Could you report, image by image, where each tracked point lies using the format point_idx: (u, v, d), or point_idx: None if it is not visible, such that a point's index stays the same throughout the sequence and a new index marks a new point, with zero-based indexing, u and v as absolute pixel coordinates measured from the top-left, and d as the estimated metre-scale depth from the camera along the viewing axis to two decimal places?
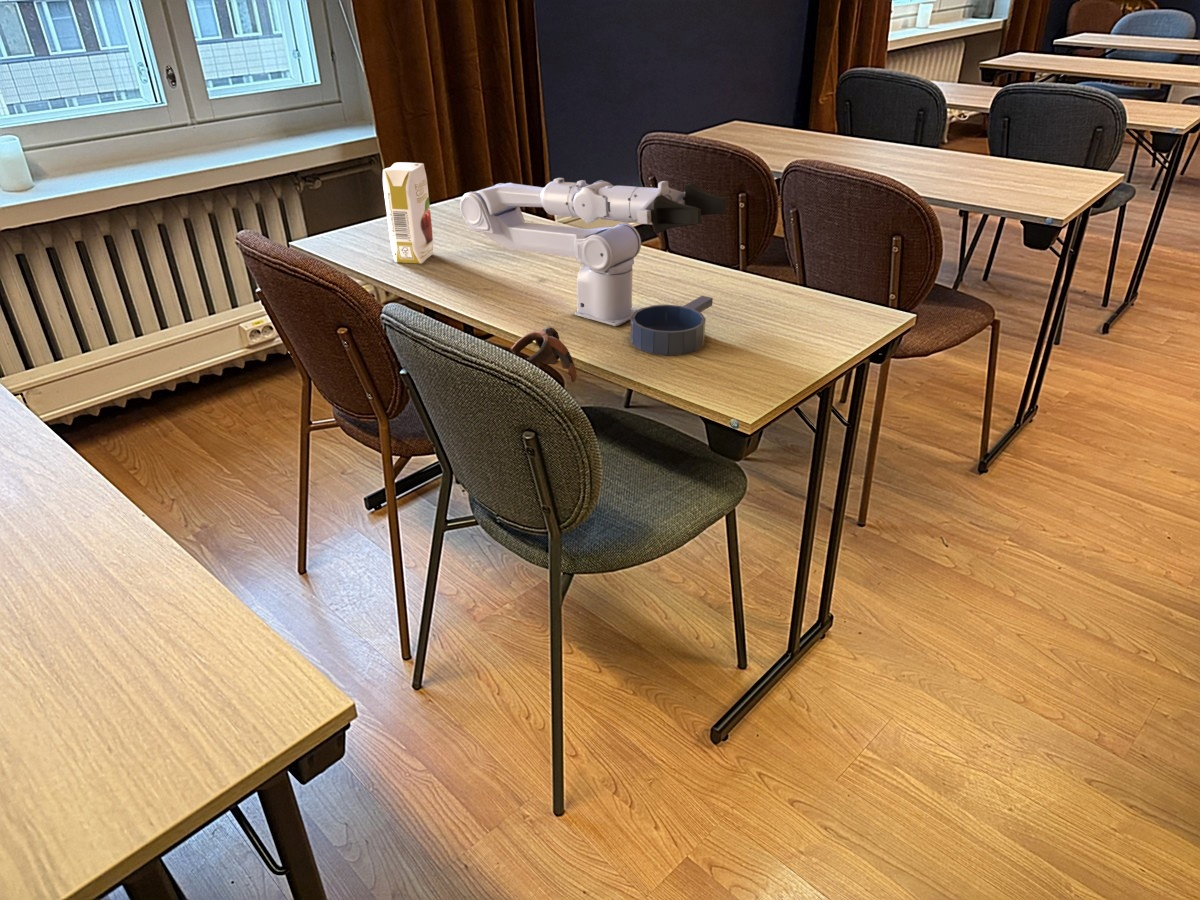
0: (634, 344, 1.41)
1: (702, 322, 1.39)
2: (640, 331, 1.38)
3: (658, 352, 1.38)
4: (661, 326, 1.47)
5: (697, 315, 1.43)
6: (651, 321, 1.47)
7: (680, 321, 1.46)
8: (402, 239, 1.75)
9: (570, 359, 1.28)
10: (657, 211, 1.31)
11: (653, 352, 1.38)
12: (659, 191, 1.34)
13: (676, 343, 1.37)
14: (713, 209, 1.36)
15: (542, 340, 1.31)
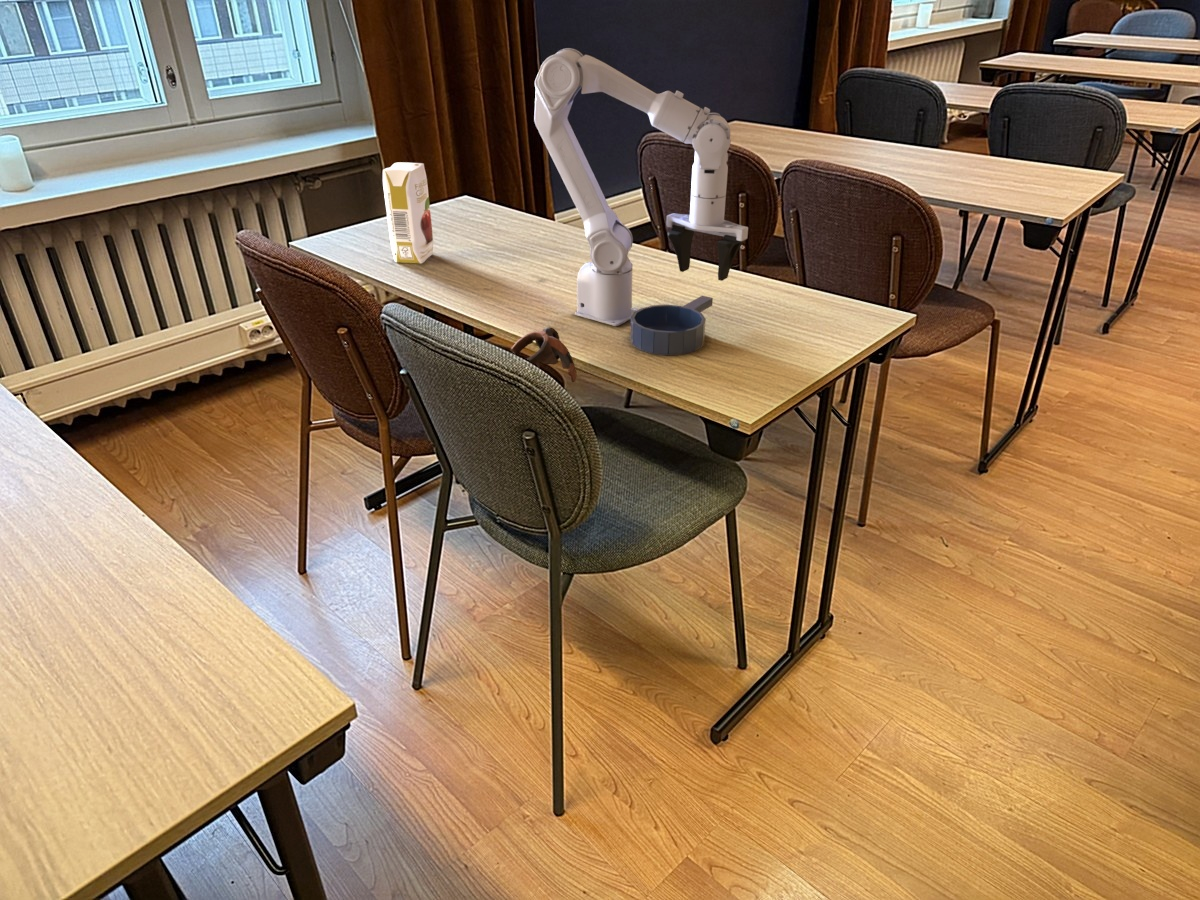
0: (634, 344, 1.41)
1: (702, 322, 1.39)
2: (640, 331, 1.38)
3: (658, 352, 1.38)
4: (661, 326, 1.47)
5: (697, 315, 1.43)
6: (651, 321, 1.47)
7: (680, 321, 1.46)
8: (402, 239, 1.75)
9: (570, 359, 1.28)
10: (737, 242, 1.41)
11: (653, 352, 1.38)
12: None
13: (676, 343, 1.37)
14: (684, 261, 1.47)
15: (542, 340, 1.31)
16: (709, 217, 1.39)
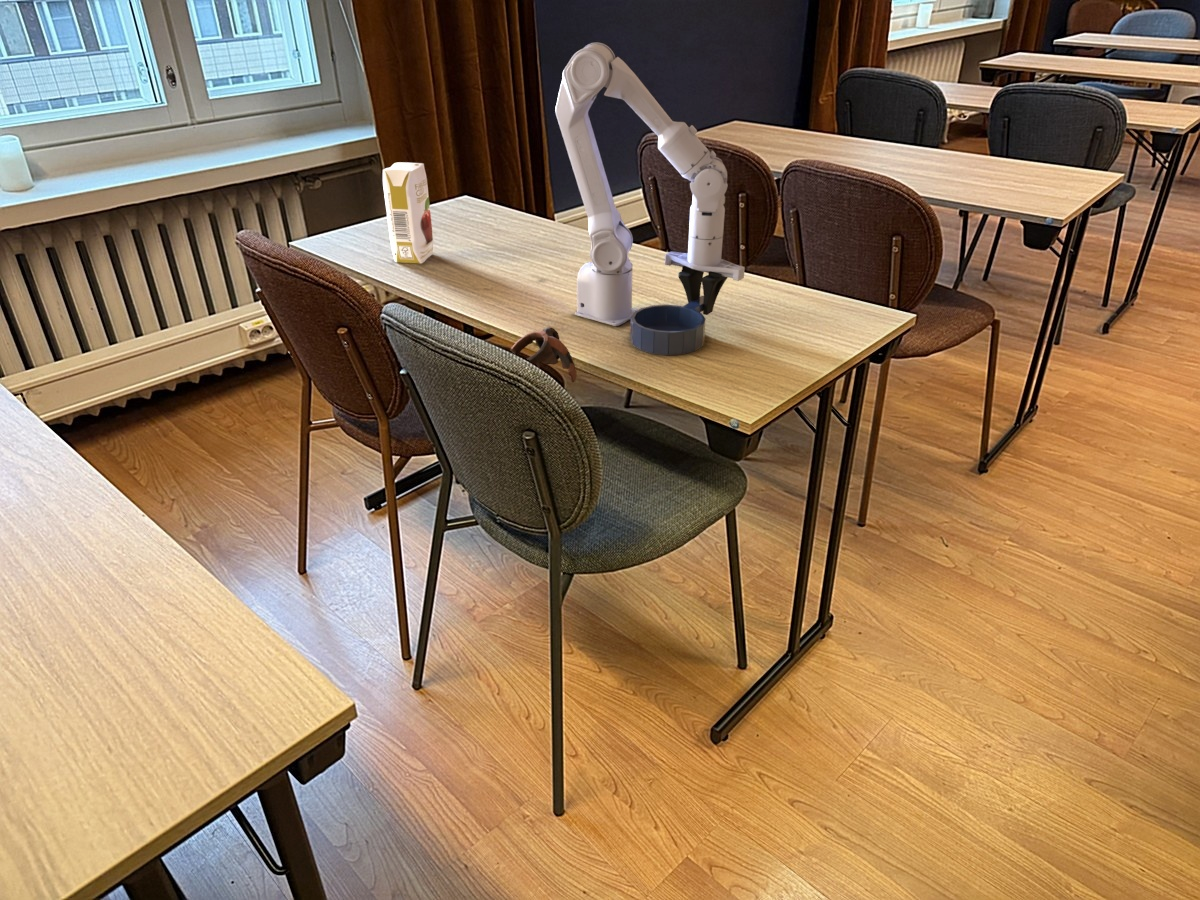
0: (634, 344, 1.41)
1: (702, 322, 1.39)
2: (640, 331, 1.38)
3: (658, 352, 1.38)
4: (661, 326, 1.47)
5: (697, 315, 1.43)
6: (651, 321, 1.47)
7: (680, 321, 1.46)
8: (402, 239, 1.75)
9: (570, 359, 1.28)
10: (721, 278, 1.45)
11: (653, 352, 1.38)
12: None
13: (676, 343, 1.37)
14: None
15: (542, 340, 1.31)
16: (706, 257, 1.42)
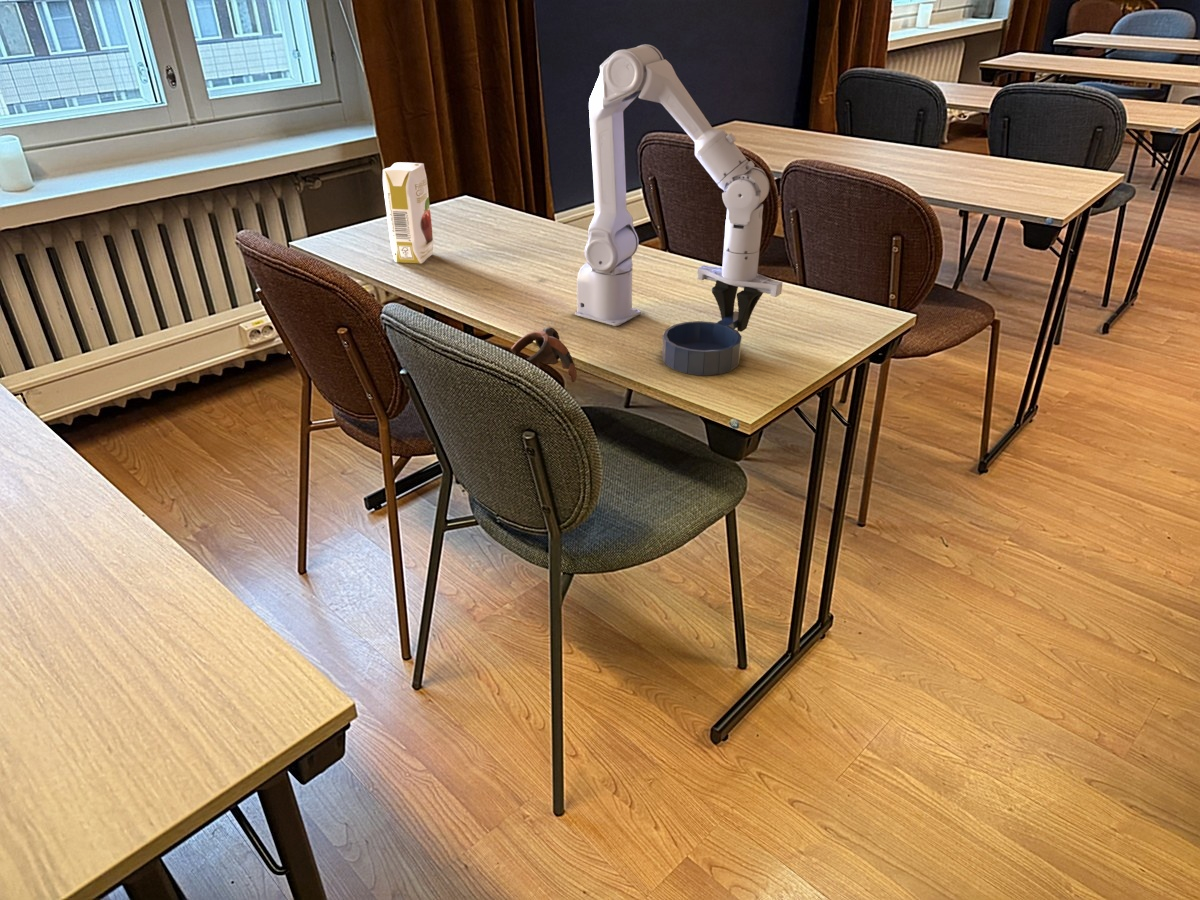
0: (667, 363, 1.34)
1: (738, 340, 1.33)
2: (673, 350, 1.32)
3: (692, 372, 1.31)
4: (693, 343, 1.40)
5: (732, 332, 1.37)
6: (683, 338, 1.40)
7: (714, 338, 1.40)
8: (402, 239, 1.75)
9: (570, 359, 1.28)
10: None
11: (687, 372, 1.32)
12: None
13: (711, 363, 1.30)
14: None
15: (542, 340, 1.31)
16: (742, 272, 1.35)
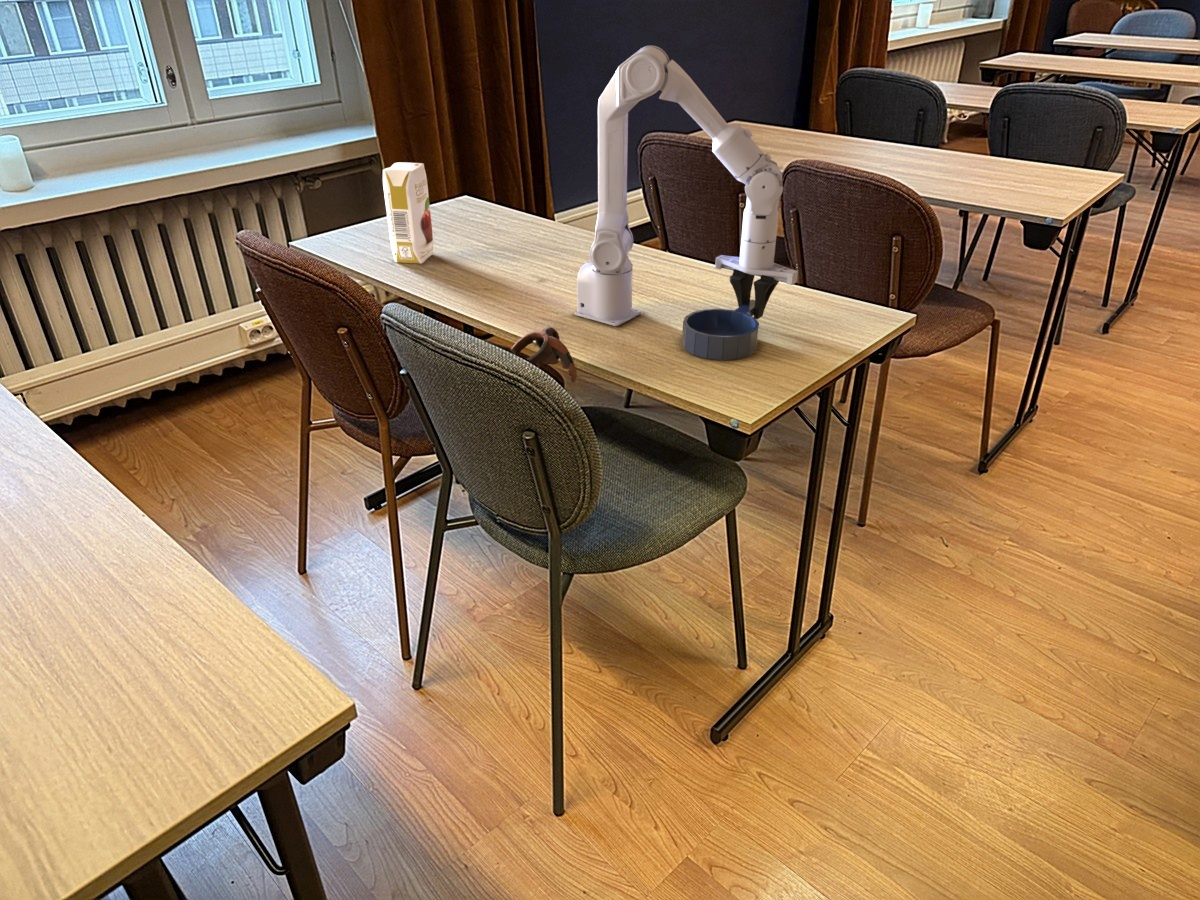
0: (687, 349, 1.39)
1: (756, 326, 1.38)
2: (693, 336, 1.36)
3: (712, 357, 1.36)
4: (712, 330, 1.45)
5: (749, 319, 1.41)
6: (702, 325, 1.45)
7: (731, 325, 1.45)
8: (402, 239, 1.75)
9: (570, 359, 1.28)
10: (773, 282, 1.44)
11: (707, 357, 1.36)
12: None
13: (731, 348, 1.35)
14: None
15: (542, 340, 1.31)
16: (759, 261, 1.40)
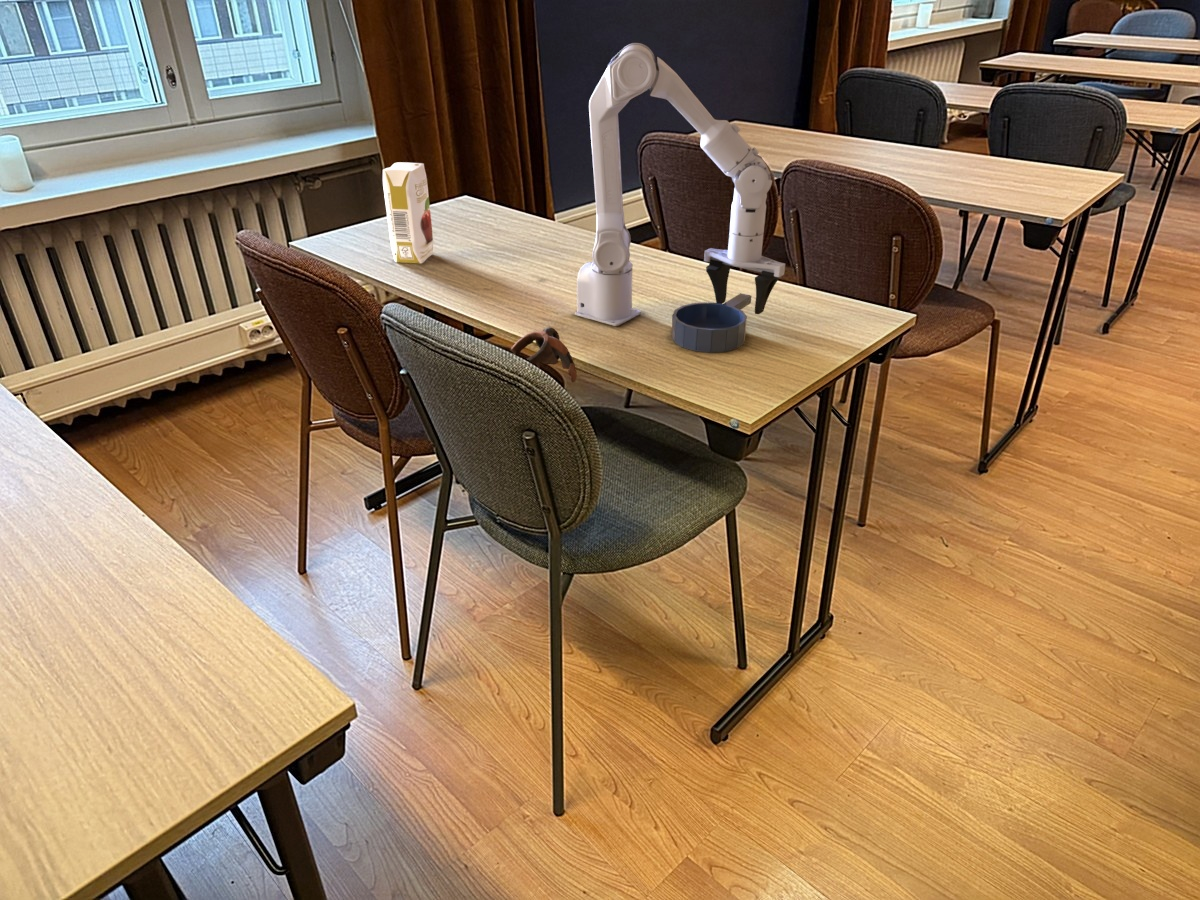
0: (676, 341, 1.42)
1: (744, 319, 1.40)
2: (682, 328, 1.39)
3: (701, 349, 1.39)
4: (701, 324, 1.48)
5: (738, 313, 1.44)
6: (691, 319, 1.48)
7: (720, 318, 1.47)
8: (402, 239, 1.75)
9: (570, 359, 1.28)
10: None
11: (696, 349, 1.39)
12: None
13: (719, 340, 1.38)
14: (720, 294, 1.51)
15: (542, 340, 1.31)
16: (747, 254, 1.43)
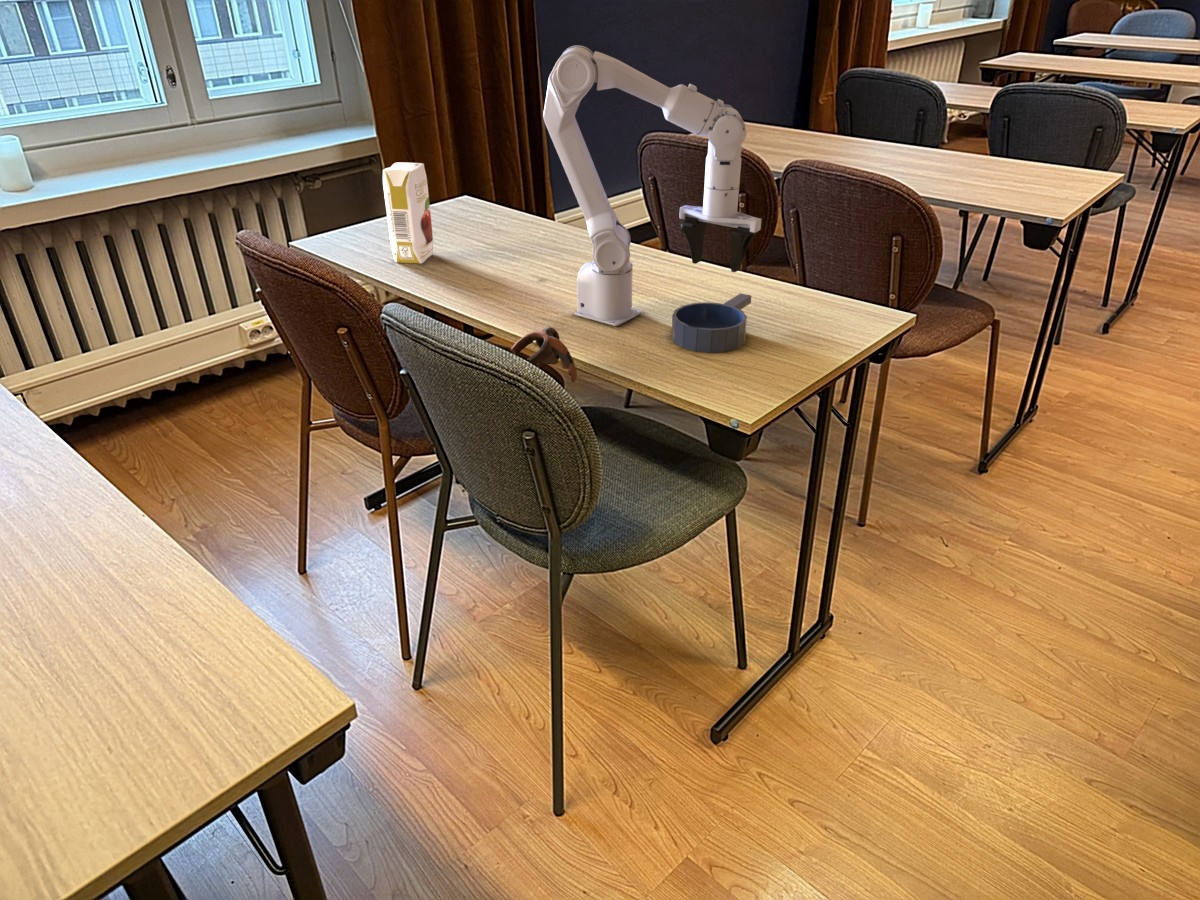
0: (676, 341, 1.42)
1: (744, 319, 1.40)
2: (682, 328, 1.39)
3: (701, 349, 1.39)
4: (701, 324, 1.48)
5: (738, 313, 1.44)
6: (691, 319, 1.48)
7: (720, 318, 1.47)
8: (402, 239, 1.75)
9: (570, 359, 1.28)
10: None
11: (696, 349, 1.39)
12: None
13: (719, 340, 1.38)
14: (696, 252, 1.47)
15: (542, 340, 1.31)
16: (722, 209, 1.39)
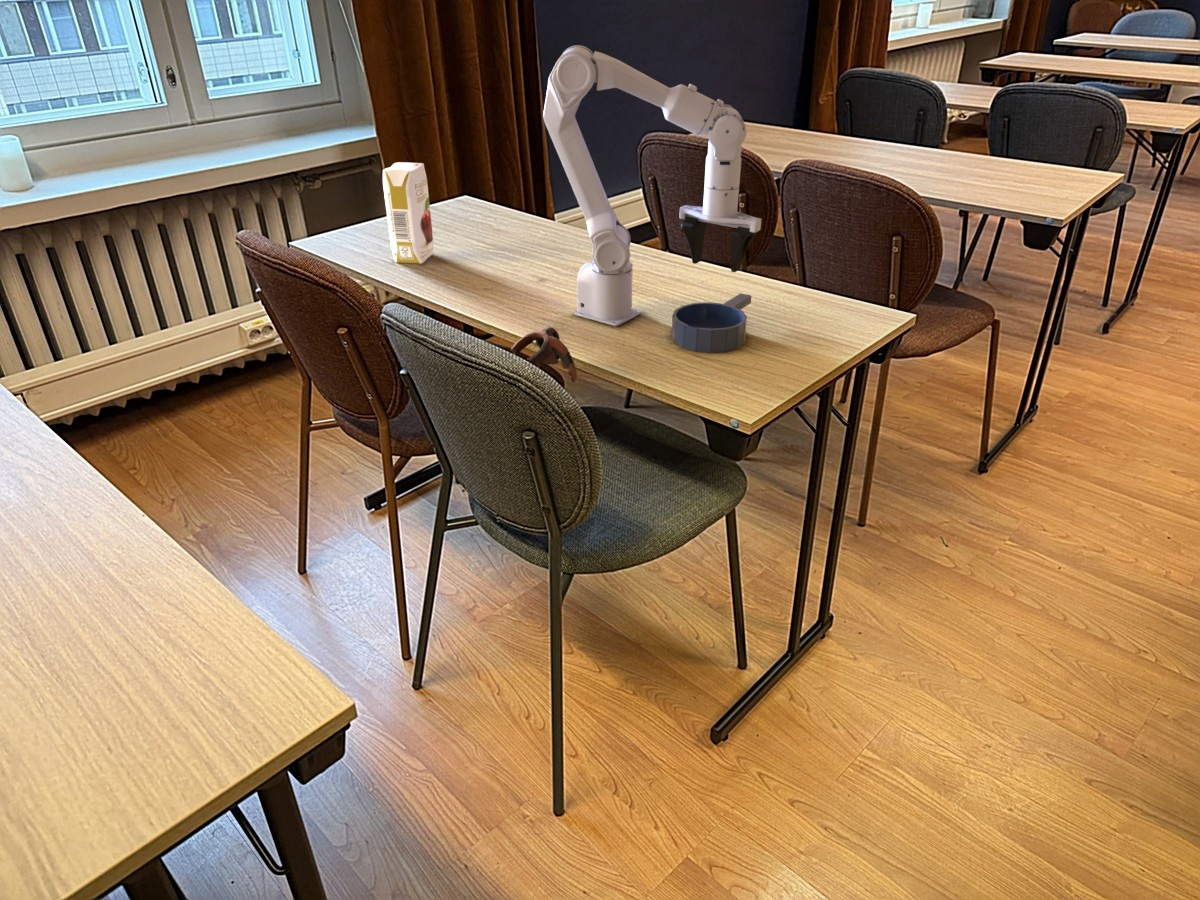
0: (676, 341, 1.42)
1: (744, 319, 1.40)
2: (682, 328, 1.39)
3: (701, 349, 1.39)
4: (701, 324, 1.48)
5: (738, 313, 1.44)
6: (691, 319, 1.48)
7: (720, 318, 1.47)
8: (402, 239, 1.75)
9: (570, 359, 1.28)
10: None
11: (696, 349, 1.39)
12: None
13: (719, 340, 1.38)
14: (696, 252, 1.47)
15: (542, 340, 1.31)
16: (722, 209, 1.39)
